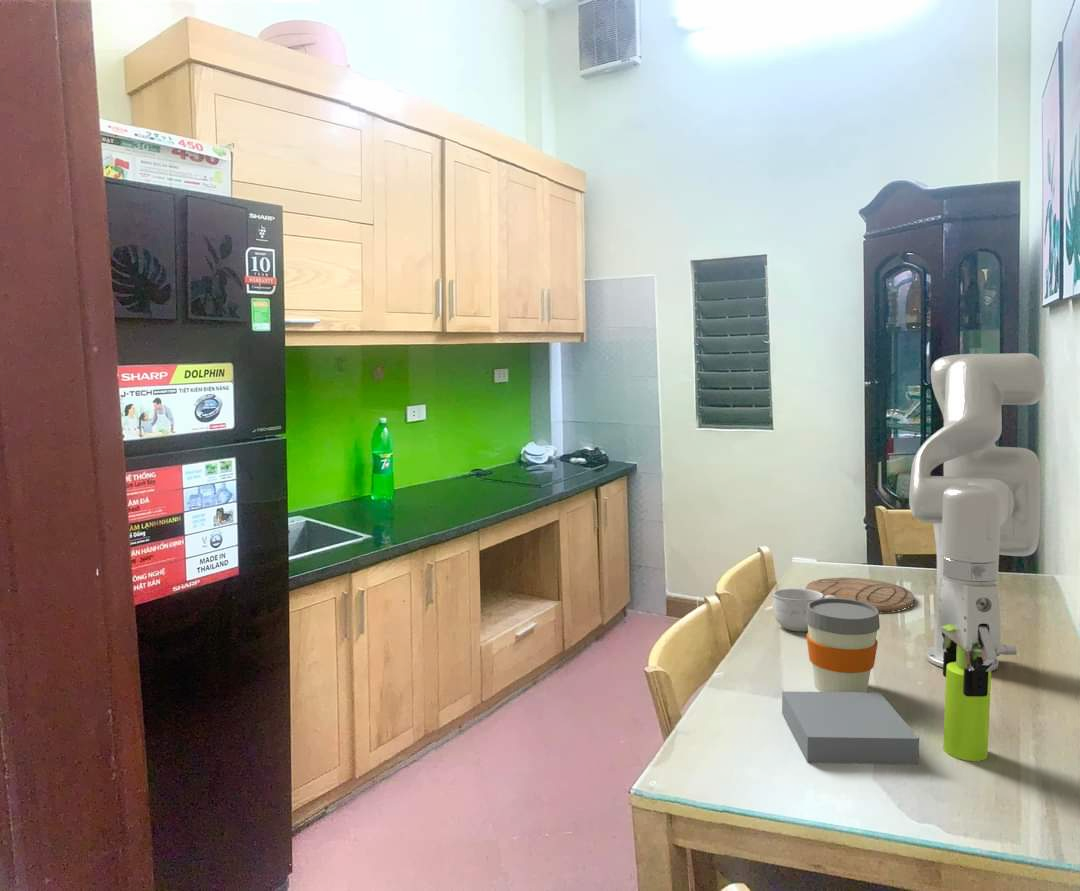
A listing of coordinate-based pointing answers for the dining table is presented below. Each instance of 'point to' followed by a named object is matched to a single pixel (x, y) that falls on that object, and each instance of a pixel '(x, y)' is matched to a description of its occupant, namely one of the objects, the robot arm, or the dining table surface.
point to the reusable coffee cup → (841, 643)
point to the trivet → (865, 592)
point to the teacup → (794, 607)
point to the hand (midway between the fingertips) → (964, 684)
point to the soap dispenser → (965, 712)
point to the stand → (849, 728)
